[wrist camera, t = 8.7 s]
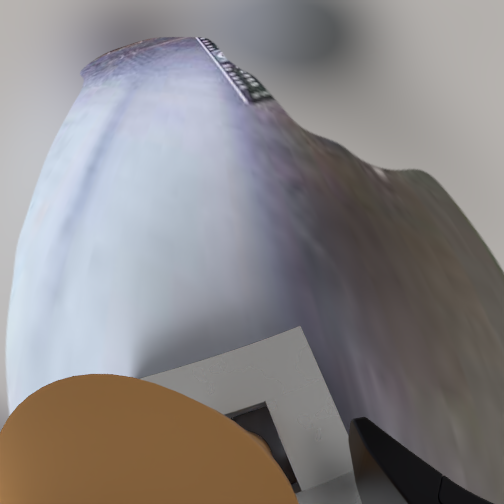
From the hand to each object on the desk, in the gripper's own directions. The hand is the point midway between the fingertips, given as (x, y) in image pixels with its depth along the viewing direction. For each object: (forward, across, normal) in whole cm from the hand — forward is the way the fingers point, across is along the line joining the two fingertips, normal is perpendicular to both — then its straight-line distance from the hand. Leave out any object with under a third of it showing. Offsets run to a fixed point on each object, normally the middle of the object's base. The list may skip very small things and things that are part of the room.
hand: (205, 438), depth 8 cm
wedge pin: (+5, 0, +7) cm, 9 cm away
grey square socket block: (+5, 0, +7) cm, 9 cm away
